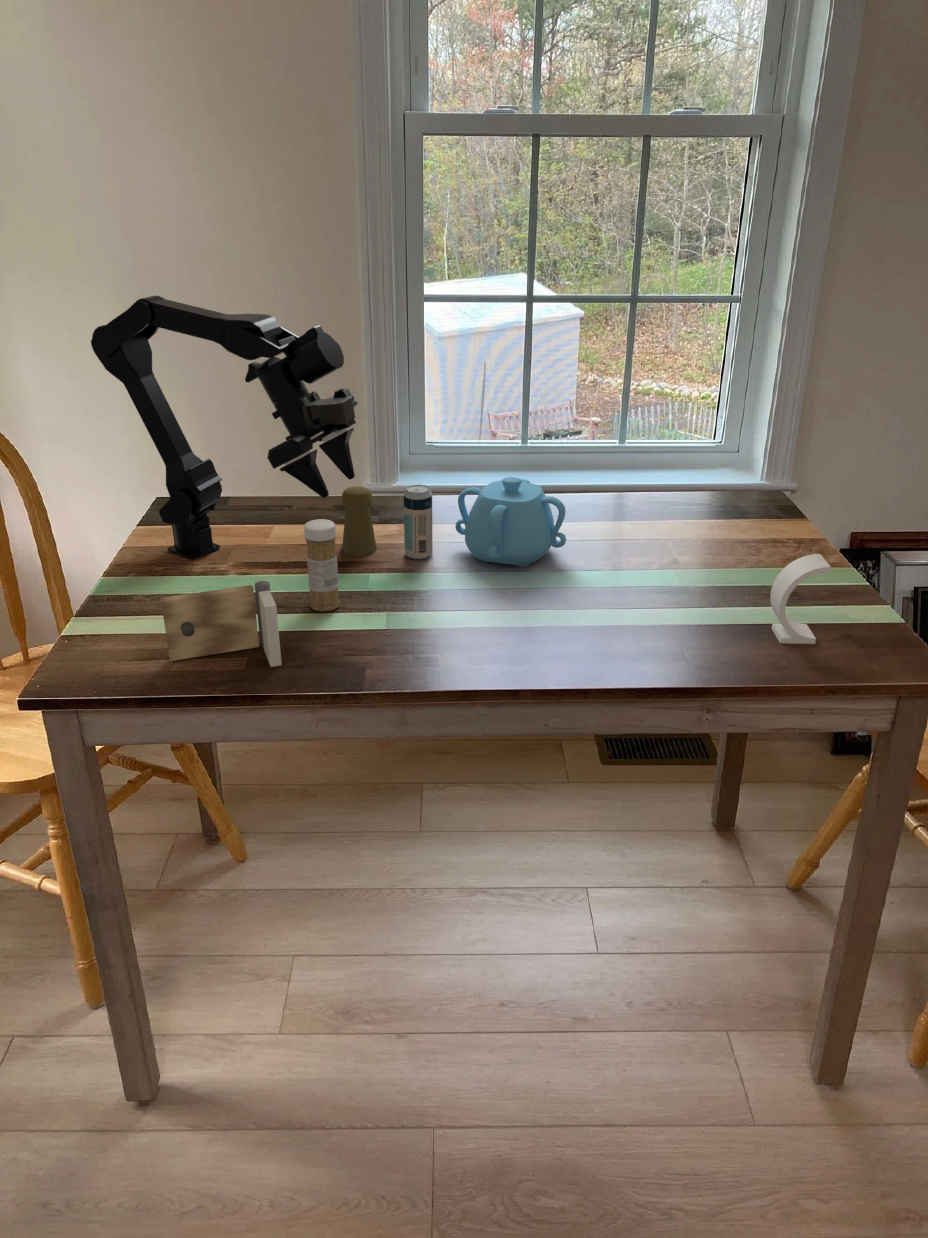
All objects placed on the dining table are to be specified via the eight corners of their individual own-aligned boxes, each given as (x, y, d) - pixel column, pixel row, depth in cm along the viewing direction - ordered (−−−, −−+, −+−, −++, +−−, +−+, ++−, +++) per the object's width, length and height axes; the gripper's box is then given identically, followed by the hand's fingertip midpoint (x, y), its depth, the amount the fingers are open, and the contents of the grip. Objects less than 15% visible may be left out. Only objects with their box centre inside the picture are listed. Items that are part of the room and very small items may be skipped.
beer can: (437, 552, 163) (437, 486, 157) (424, 562, 159) (424, 495, 153) (412, 548, 164) (411, 482, 159) (399, 557, 161) (398, 490, 155)
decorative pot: (572, 567, 158) (577, 490, 152) (482, 579, 153) (484, 499, 147) (534, 532, 172) (538, 460, 166) (450, 542, 167) (451, 468, 161)
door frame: (259, 643, 133) (253, 582, 129) (273, 641, 134) (268, 580, 129) (268, 667, 127) (262, 604, 123) (283, 664, 128) (277, 601, 123)
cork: (374, 555, 161) (372, 494, 156) (339, 555, 161) (336, 494, 156) (378, 542, 167) (376, 482, 162) (344, 541, 167) (341, 482, 162)
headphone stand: (815, 643, 135) (831, 567, 129) (772, 643, 135) (786, 566, 129) (805, 628, 139) (820, 553, 133) (764, 628, 139) (777, 553, 133)
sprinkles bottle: (334, 597, 147) (329, 516, 140) (344, 609, 143) (339, 526, 137) (305, 602, 145) (299, 520, 139) (315, 615, 141) (309, 531, 135)
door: (257, 643, 133) (251, 585, 128) (260, 650, 131) (254, 592, 126) (169, 657, 129) (160, 597, 125) (171, 665, 127) (161, 605, 123)
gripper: (300, 387, 132) (353, 487, 136) (356, 361, 148) (403, 451, 152) (242, 419, 137) (296, 514, 141) (303, 390, 153) (350, 476, 157)
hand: (339, 487), depth 148 cm, fingers open, 9 cm apart
